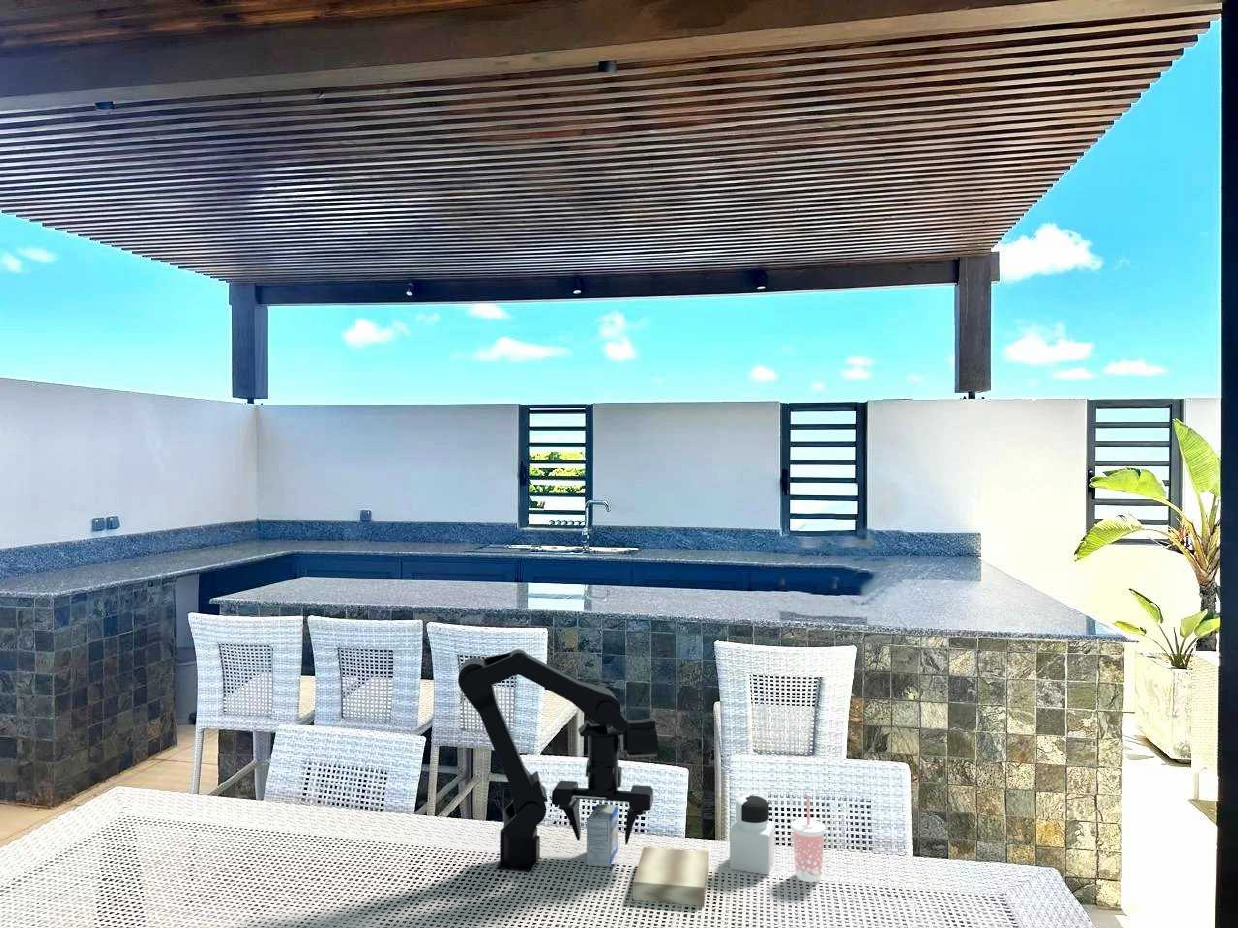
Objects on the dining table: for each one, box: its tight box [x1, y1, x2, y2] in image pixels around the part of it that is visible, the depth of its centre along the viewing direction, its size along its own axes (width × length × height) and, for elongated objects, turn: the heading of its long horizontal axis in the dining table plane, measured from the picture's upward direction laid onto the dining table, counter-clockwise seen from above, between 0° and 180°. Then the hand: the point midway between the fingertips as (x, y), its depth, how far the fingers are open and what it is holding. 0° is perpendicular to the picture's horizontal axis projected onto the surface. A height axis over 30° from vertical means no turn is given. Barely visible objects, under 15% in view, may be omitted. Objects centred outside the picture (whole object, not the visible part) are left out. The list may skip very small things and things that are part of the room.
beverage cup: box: [790, 796, 827, 883], centre depth 144 cm, size 6×6×14 cm
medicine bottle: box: [729, 794, 775, 875], centre depth 149 cm, size 7×7×12 cm
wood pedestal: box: [632, 846, 709, 907], centre depth 141 cm, size 12×14×3 cm
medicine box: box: [586, 803, 619, 868], centre depth 151 cm, size 8×4×9 cm, turn 168°
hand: (602, 841), depth 151 cm, fingers open, 9 cm apart
